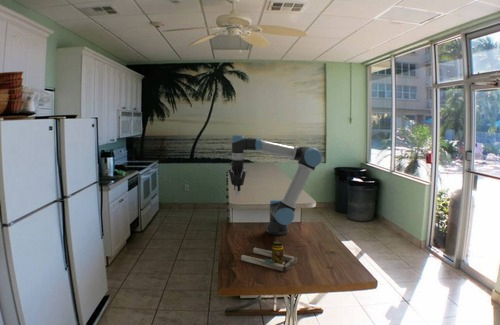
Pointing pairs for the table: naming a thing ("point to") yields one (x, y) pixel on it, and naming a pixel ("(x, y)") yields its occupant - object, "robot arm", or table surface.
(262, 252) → the rail track
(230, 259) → the table surface
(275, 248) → the condiment
